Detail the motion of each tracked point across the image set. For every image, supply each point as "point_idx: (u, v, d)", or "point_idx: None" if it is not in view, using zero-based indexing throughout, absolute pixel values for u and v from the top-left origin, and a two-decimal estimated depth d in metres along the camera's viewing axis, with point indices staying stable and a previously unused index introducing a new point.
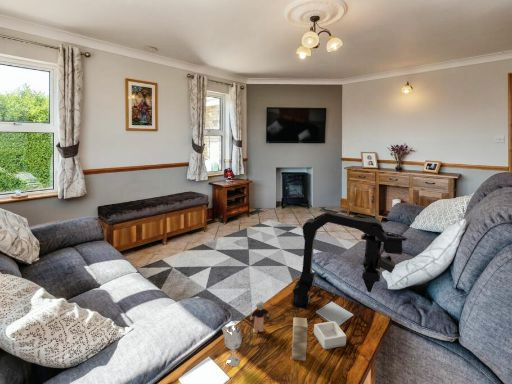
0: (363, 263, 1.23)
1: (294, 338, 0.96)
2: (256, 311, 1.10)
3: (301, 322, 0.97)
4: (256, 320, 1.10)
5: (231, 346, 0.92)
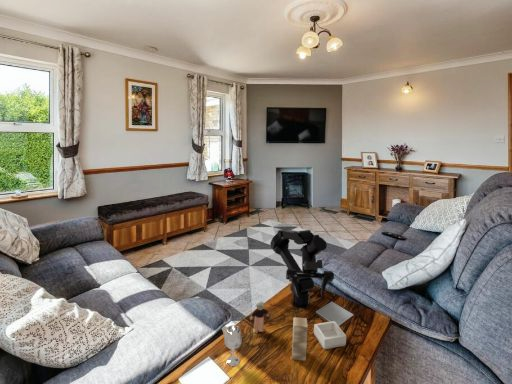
0: None
1: (294, 338, 0.96)
2: (256, 311, 1.10)
3: (301, 322, 0.97)
4: (256, 320, 1.10)
5: (231, 346, 0.92)
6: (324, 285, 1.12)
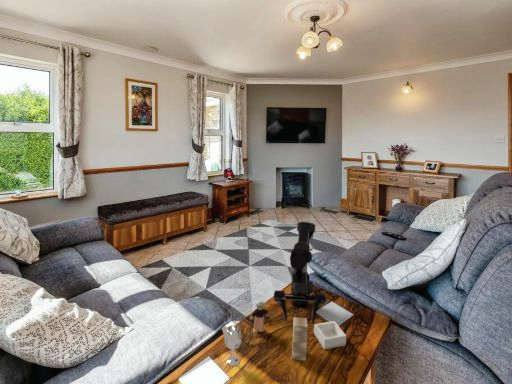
0: None
1: (294, 338, 0.96)
2: (256, 311, 1.10)
3: (301, 322, 0.97)
4: (256, 320, 1.10)
5: (231, 346, 0.92)
6: (315, 309, 1.02)
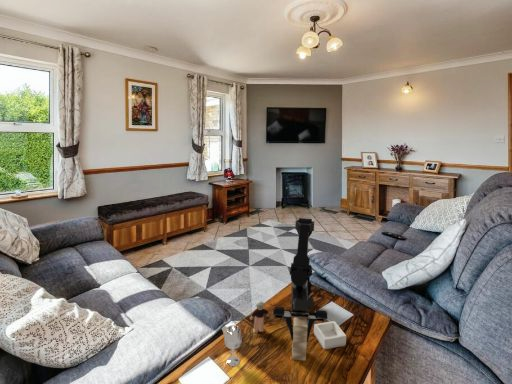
0: None
1: (294, 338, 0.96)
2: (256, 311, 1.10)
3: (301, 322, 0.97)
4: (256, 320, 1.10)
5: (231, 346, 0.92)
6: (309, 326, 0.98)
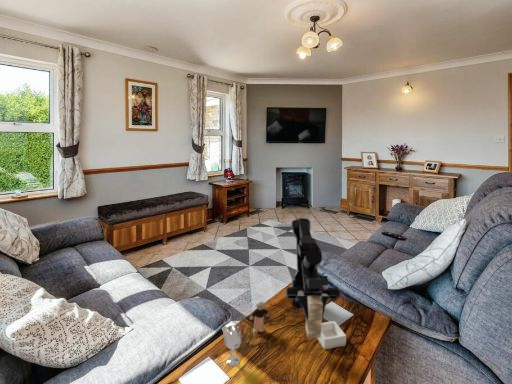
0: None
1: (309, 316, 0.97)
2: (256, 311, 1.10)
3: (316, 300, 0.97)
4: (256, 320, 1.10)
5: (231, 346, 0.92)
6: (323, 304, 0.99)
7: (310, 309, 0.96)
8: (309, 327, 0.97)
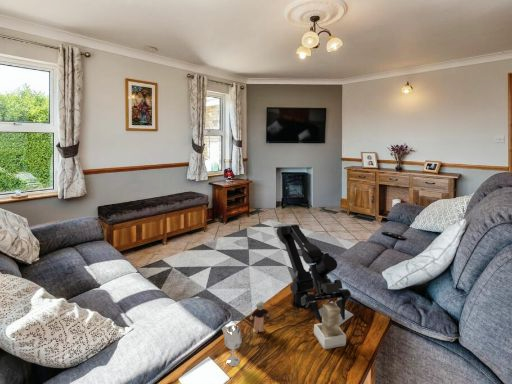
0: None
1: (329, 322, 1.03)
2: (256, 311, 1.10)
3: (333, 306, 1.05)
4: (256, 320, 1.10)
5: (231, 346, 0.92)
6: (343, 305, 1.07)
7: (329, 315, 1.03)
8: (328, 332, 1.04)
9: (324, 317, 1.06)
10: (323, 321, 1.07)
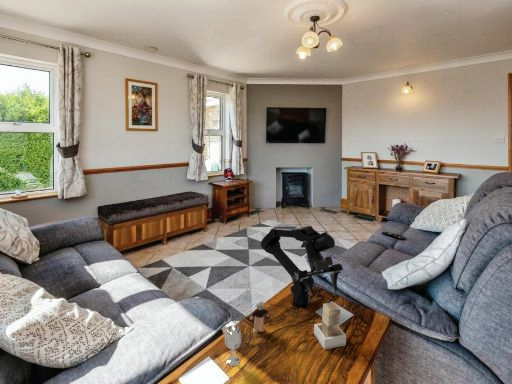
0: None
1: (329, 322, 1.03)
2: (256, 311, 1.10)
3: (333, 306, 1.05)
4: (256, 320, 1.10)
5: (231, 346, 0.92)
6: (335, 279, 1.15)
7: (329, 315, 1.03)
8: (328, 332, 1.04)
9: (324, 317, 1.06)
10: (323, 321, 1.07)
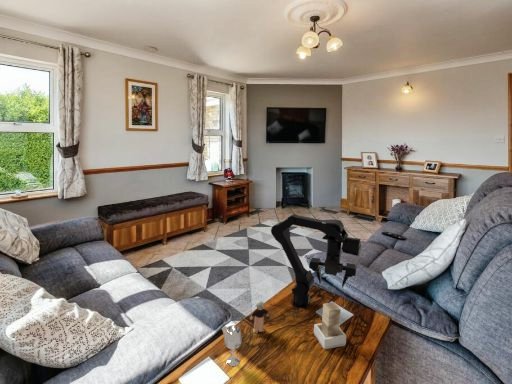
0: None
1: (329, 322, 1.03)
2: (256, 311, 1.10)
3: (333, 306, 1.05)
4: (256, 320, 1.10)
5: (231, 346, 0.92)
6: (345, 279, 1.17)
7: (329, 315, 1.03)
8: (328, 332, 1.04)
9: (324, 317, 1.06)
10: (323, 321, 1.07)
